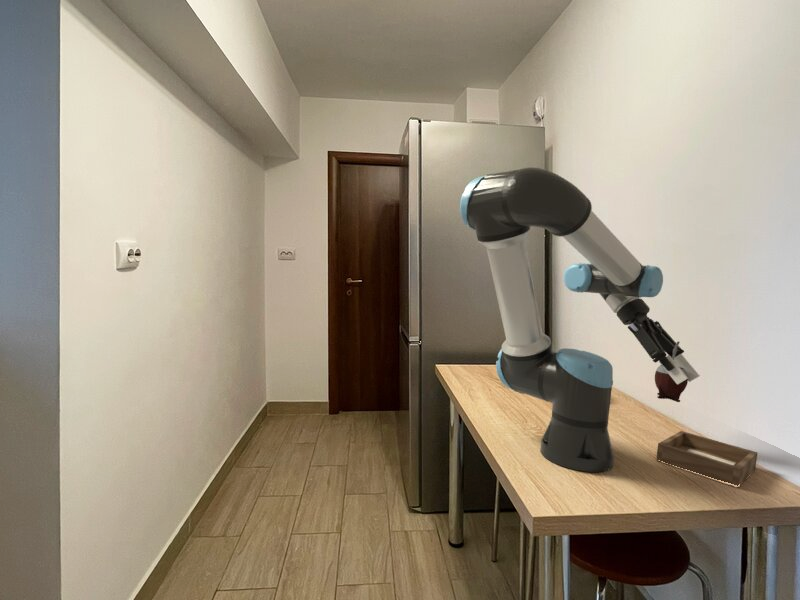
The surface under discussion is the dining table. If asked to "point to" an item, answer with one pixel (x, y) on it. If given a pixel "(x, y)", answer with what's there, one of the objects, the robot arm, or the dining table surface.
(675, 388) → the mate gourd
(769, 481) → the dining table surface
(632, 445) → the dining table surface
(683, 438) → the tray
